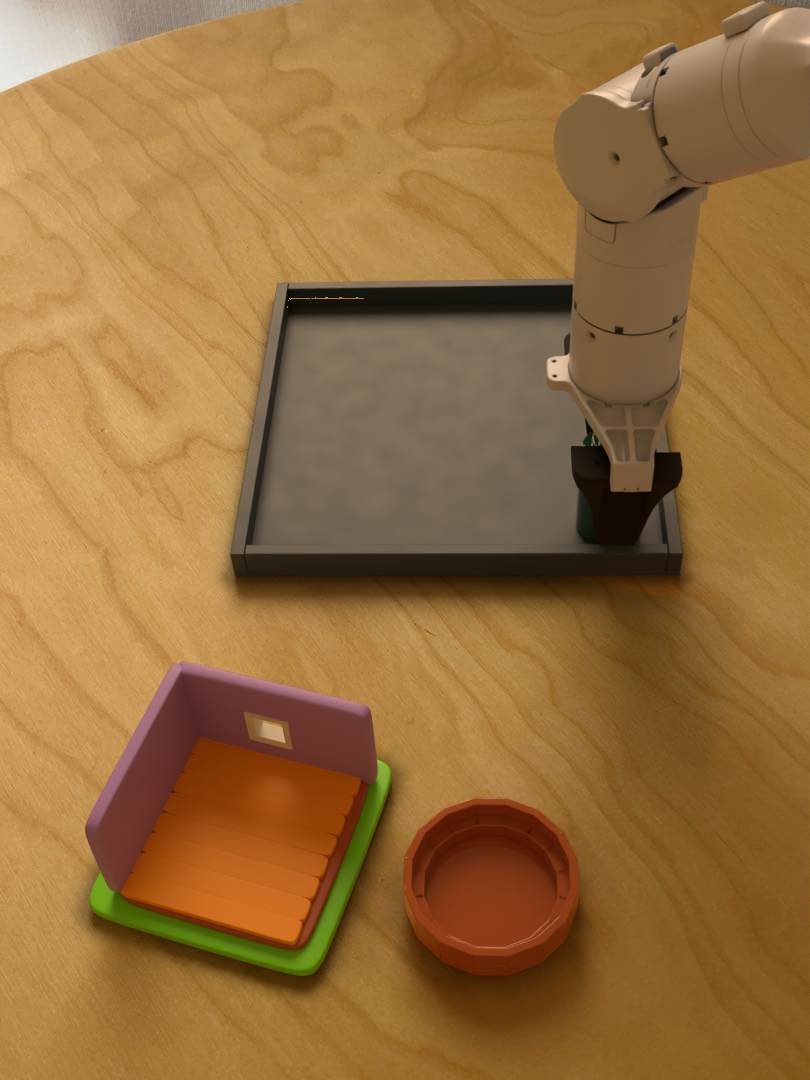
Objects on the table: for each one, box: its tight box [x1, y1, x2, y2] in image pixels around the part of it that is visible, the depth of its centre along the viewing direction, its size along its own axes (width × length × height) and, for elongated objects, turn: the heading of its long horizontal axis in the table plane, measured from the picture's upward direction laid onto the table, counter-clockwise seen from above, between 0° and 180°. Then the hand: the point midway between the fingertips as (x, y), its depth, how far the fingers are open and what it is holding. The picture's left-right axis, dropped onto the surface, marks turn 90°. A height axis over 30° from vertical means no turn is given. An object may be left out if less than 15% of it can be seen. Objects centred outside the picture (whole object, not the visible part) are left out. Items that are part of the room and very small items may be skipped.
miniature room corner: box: [84, 661, 393, 977], centre depth 63 cm, size 12×12×7 cm
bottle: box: [575, 431, 602, 544], centre depth 75 cm, size 4×4×9 cm
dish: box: [402, 797, 580, 976], centre depth 62 cm, size 8×8×2 cm
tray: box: [229, 277, 684, 577], centre depth 85 cm, size 26×26×2 cm
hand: (612, 491), depth 77 cm, fingers open, 7 cm apart
